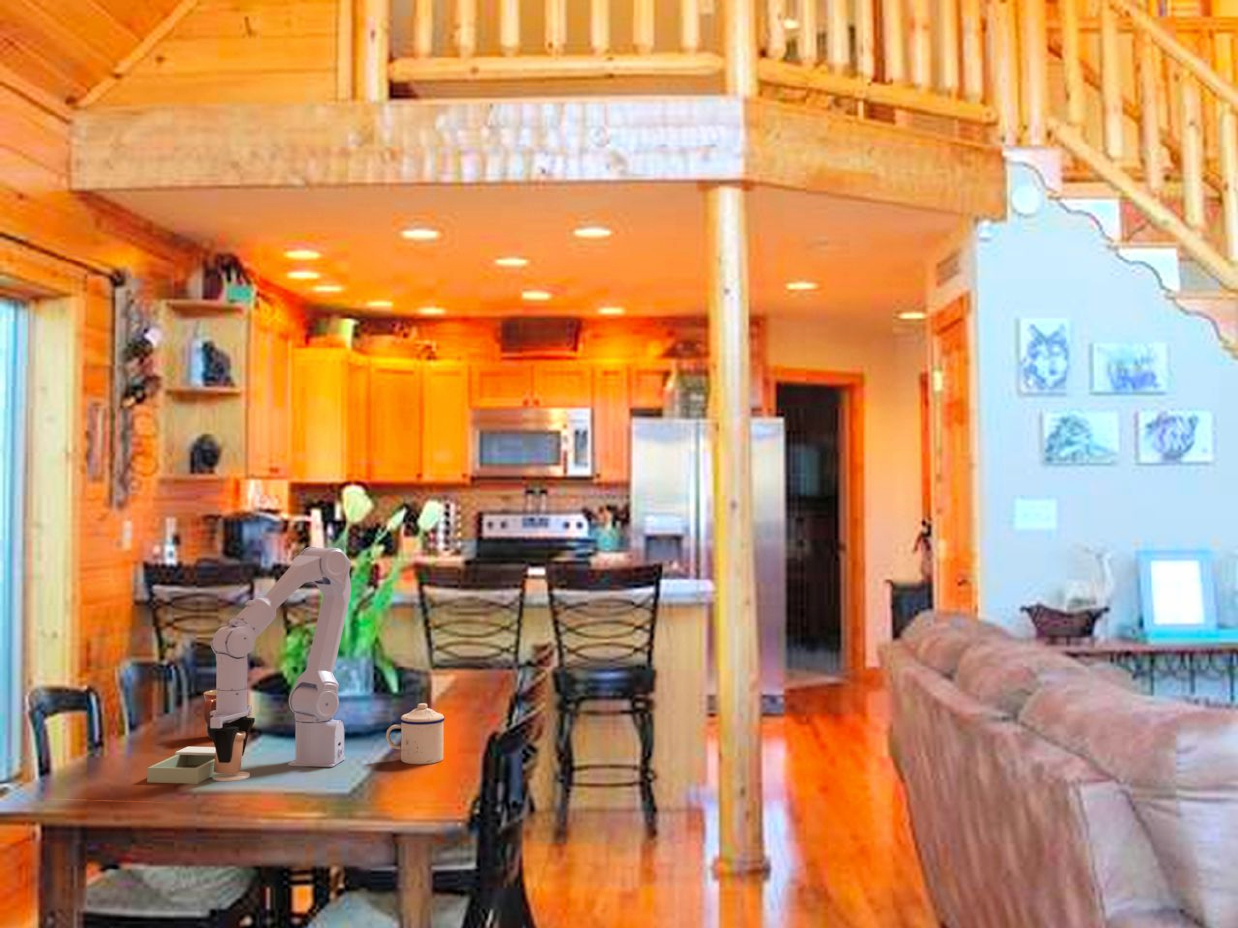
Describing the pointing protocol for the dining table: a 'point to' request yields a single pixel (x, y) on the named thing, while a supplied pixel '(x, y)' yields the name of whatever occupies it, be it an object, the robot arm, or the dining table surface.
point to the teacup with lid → (420, 736)
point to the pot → (236, 757)
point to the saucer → (231, 776)
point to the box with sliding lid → (184, 766)
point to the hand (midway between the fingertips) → (231, 759)
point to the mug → (209, 707)
